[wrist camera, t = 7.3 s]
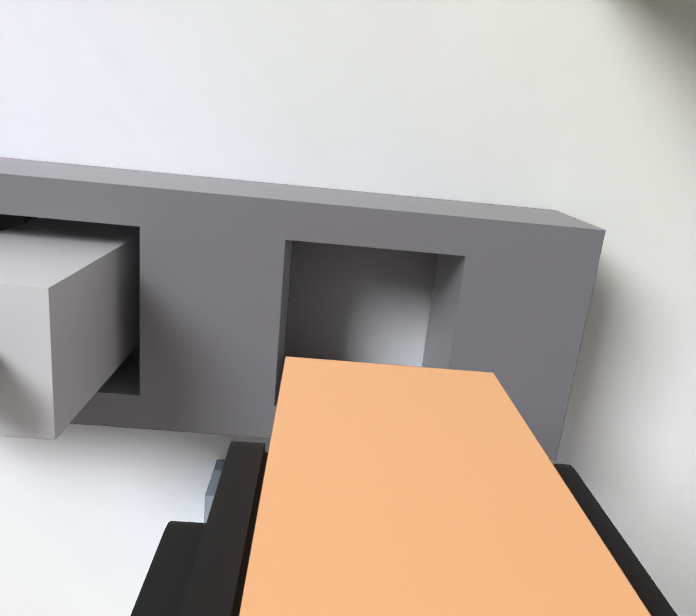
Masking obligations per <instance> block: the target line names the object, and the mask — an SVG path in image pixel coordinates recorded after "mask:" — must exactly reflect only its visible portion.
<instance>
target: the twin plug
mask: <svg viewBox="0 0 696 616" xmlns="http://www.w3.org/2000/svg"><path fill="white" fill-rule="evenodd" d="M139 343H140V227H139V226H128V225H117V224H106V223H95V222H84V221H73V220H62V219H50V218H39V219H36V220H33V221H30V222H27V223H24V224H21V225H18V226H15V227H12V228H9V229H6V230H3V231H0V436H11V437H25V438H38V439H52V440H55V439H56V438H57V437H58V436H59V435H60V433H61V432H62V431H63V430H64V429H65V428H66V426H67V425H68V424H69V423H70V422H71V421H72V420H73V418H74V417H75V416H76V415H77V414H78V413H79V412H80V410H81V409H82V408H83V407H84V406H85V405H86V404H87V402H88V401H89V400H90V399H91V398H92V397H93V396H94V394H95V393H96V392H97V391H98V390H99V389H100V388H101V386H102V385H103V384H104V383H105V382H106V381H107V380H108V378H109V377H110V376H111V375H112V374H113V373H114V372H115V370H116V369H117V368H118V367H119V366H120V365H121V364H122V362H123V361H124V360H125V359H126V358H127V357H128V356H129V354H130V353H131V352H132V351H133V350H134V349H135V348H136V346H137V345H138V344H139Z"/></svg>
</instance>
